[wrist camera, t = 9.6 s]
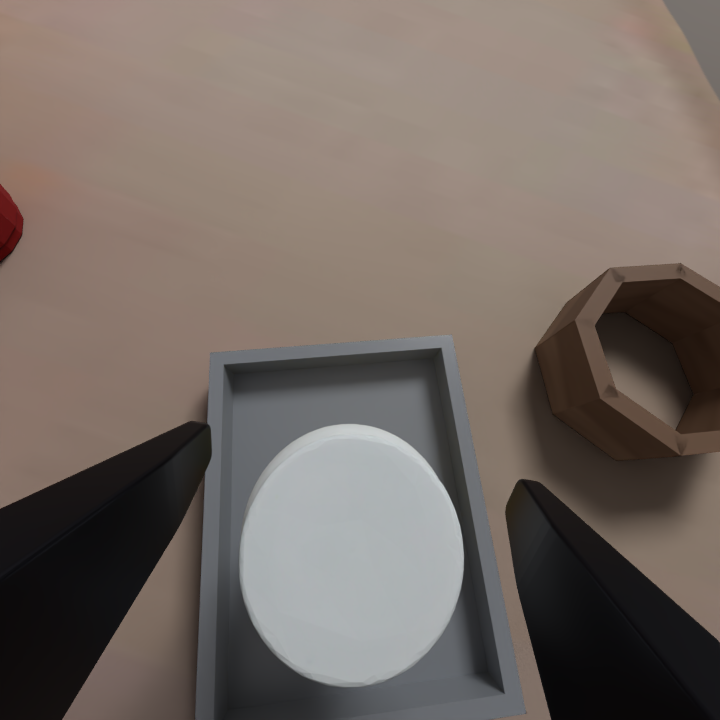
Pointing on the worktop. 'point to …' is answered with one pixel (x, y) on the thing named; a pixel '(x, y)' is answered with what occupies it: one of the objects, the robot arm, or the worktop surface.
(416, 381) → the tray
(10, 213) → the plastic cup
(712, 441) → the cup holder
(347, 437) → the supplement bottle
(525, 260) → the worktop surface
